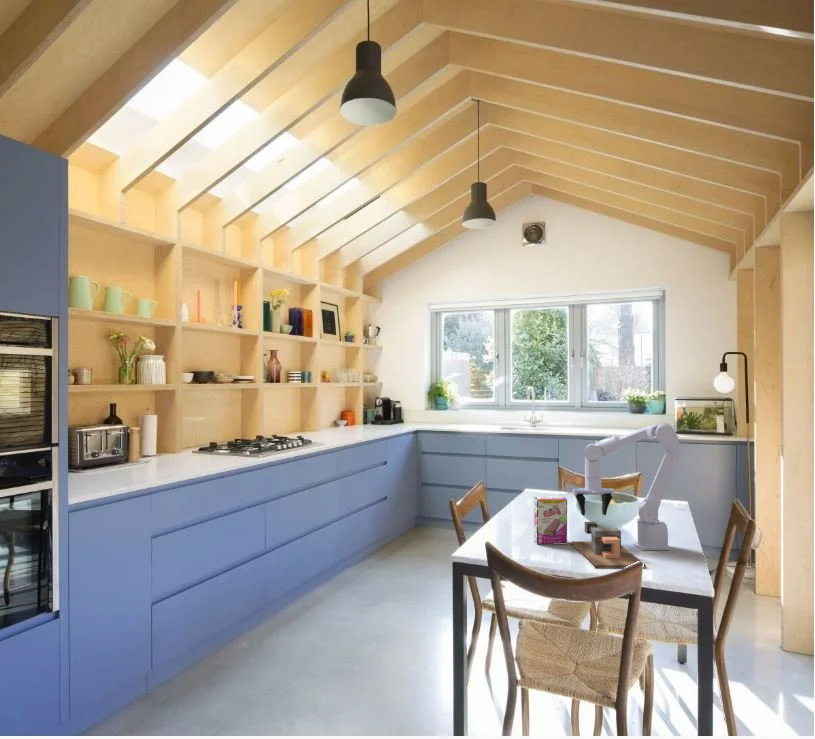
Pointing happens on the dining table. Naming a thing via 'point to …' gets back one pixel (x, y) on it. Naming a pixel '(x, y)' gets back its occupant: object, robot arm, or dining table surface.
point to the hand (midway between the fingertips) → (593, 514)
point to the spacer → (612, 547)
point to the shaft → (590, 525)
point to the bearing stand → (604, 549)
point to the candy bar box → (550, 520)
